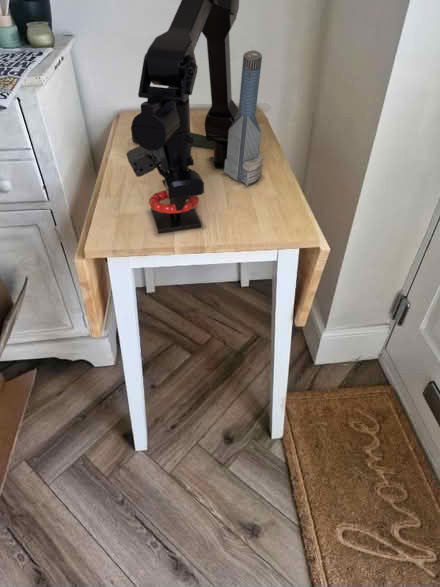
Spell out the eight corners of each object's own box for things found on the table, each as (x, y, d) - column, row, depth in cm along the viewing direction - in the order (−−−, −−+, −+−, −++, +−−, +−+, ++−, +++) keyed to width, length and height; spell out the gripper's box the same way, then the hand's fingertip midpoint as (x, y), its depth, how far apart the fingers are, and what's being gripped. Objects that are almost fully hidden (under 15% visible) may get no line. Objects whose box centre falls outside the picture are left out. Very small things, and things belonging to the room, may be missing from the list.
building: (258, 187, 102) (277, 48, 81) (220, 182, 103) (230, 43, 82) (262, 167, 109) (280, 34, 88) (227, 163, 110) (237, 30, 89)
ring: (146, 199, 91) (145, 191, 90) (192, 193, 93) (191, 185, 92) (153, 217, 83) (152, 209, 82) (203, 211, 85) (203, 202, 84)
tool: (130, 146, 119) (127, 122, 114) (137, 137, 123) (134, 114, 119) (227, 155, 116) (228, 131, 111) (231, 146, 120) (232, 122, 116)
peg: (151, 211, 93) (147, 177, 88) (191, 206, 95) (190, 172, 90) (158, 234, 87) (154, 198, 81) (201, 227, 88) (200, 192, 83)
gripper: (120, 113, 79) (131, 190, 89) (134, 154, 66) (144, 239, 76) (179, 108, 81) (183, 184, 92) (204, 147, 68) (205, 230, 78)
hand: (178, 207), depth 84 cm, fingers closed on ring, 2 cm apart
